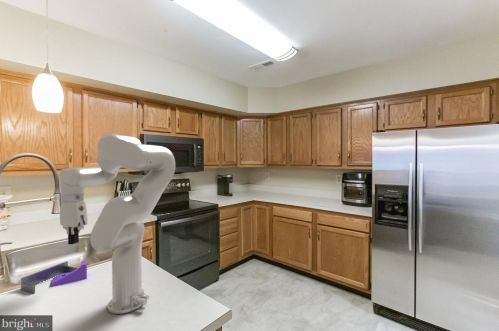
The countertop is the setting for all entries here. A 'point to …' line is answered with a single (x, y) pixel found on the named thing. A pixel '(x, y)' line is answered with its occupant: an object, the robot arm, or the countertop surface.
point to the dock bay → (44, 276)
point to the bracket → (71, 275)
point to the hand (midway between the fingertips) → (73, 243)
